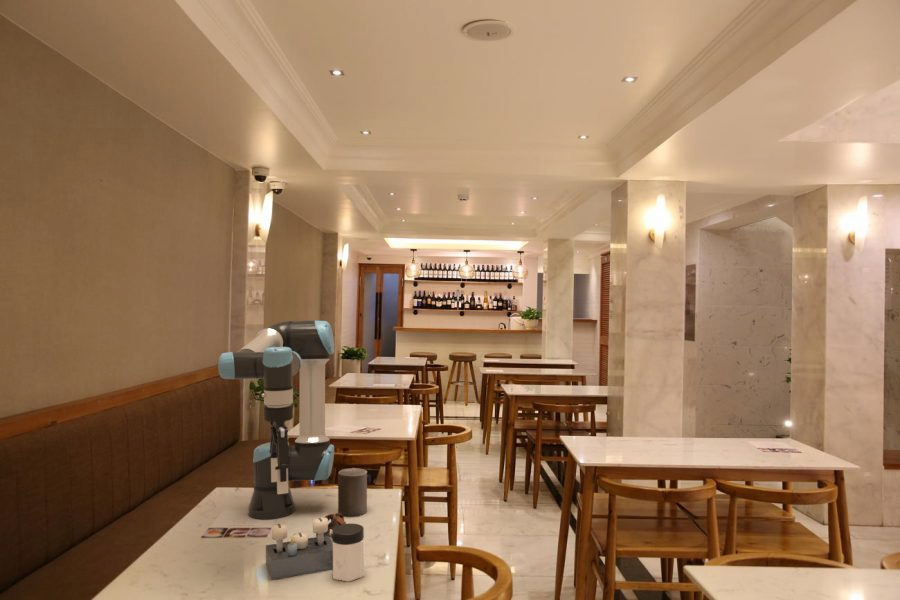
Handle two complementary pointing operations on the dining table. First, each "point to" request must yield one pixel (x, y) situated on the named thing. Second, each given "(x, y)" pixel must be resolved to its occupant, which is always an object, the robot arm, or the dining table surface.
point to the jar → (348, 552)
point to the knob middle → (301, 540)
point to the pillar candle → (352, 492)
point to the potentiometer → (292, 548)
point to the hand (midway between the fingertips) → (279, 487)
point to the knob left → (279, 535)
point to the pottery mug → (333, 522)
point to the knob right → (320, 528)
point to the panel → (299, 559)
